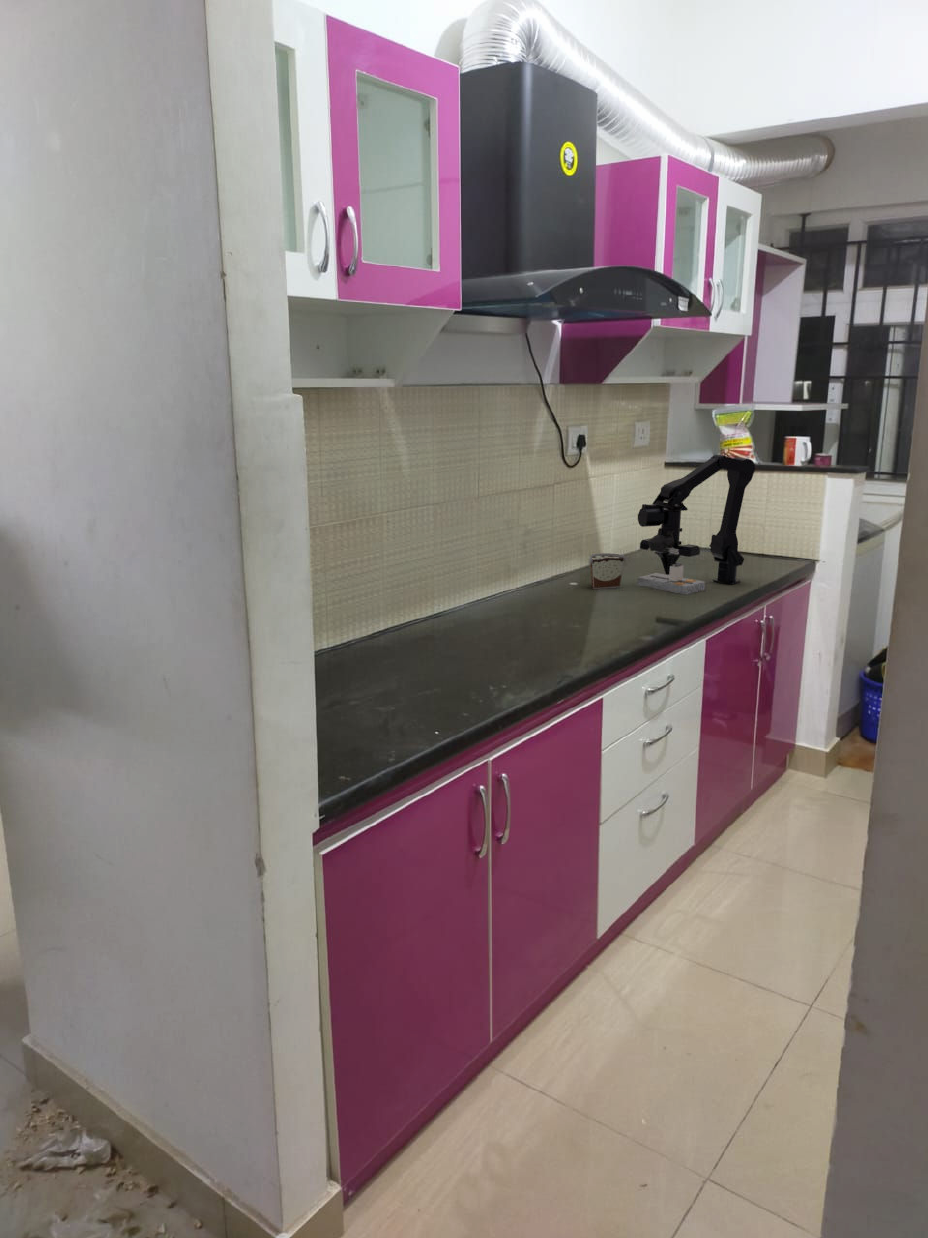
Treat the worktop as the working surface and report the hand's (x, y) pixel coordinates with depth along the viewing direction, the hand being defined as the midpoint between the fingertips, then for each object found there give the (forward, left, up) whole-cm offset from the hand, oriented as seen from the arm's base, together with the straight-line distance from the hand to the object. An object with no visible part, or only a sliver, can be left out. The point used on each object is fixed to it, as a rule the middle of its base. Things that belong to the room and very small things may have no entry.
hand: (667, 574), depth 288 cm
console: (0, +2, -4) cm, 4 cm away
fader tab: (0, +3, -1) cm, 3 cm away
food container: (+14, -14, -4) cm, 21 cm away
